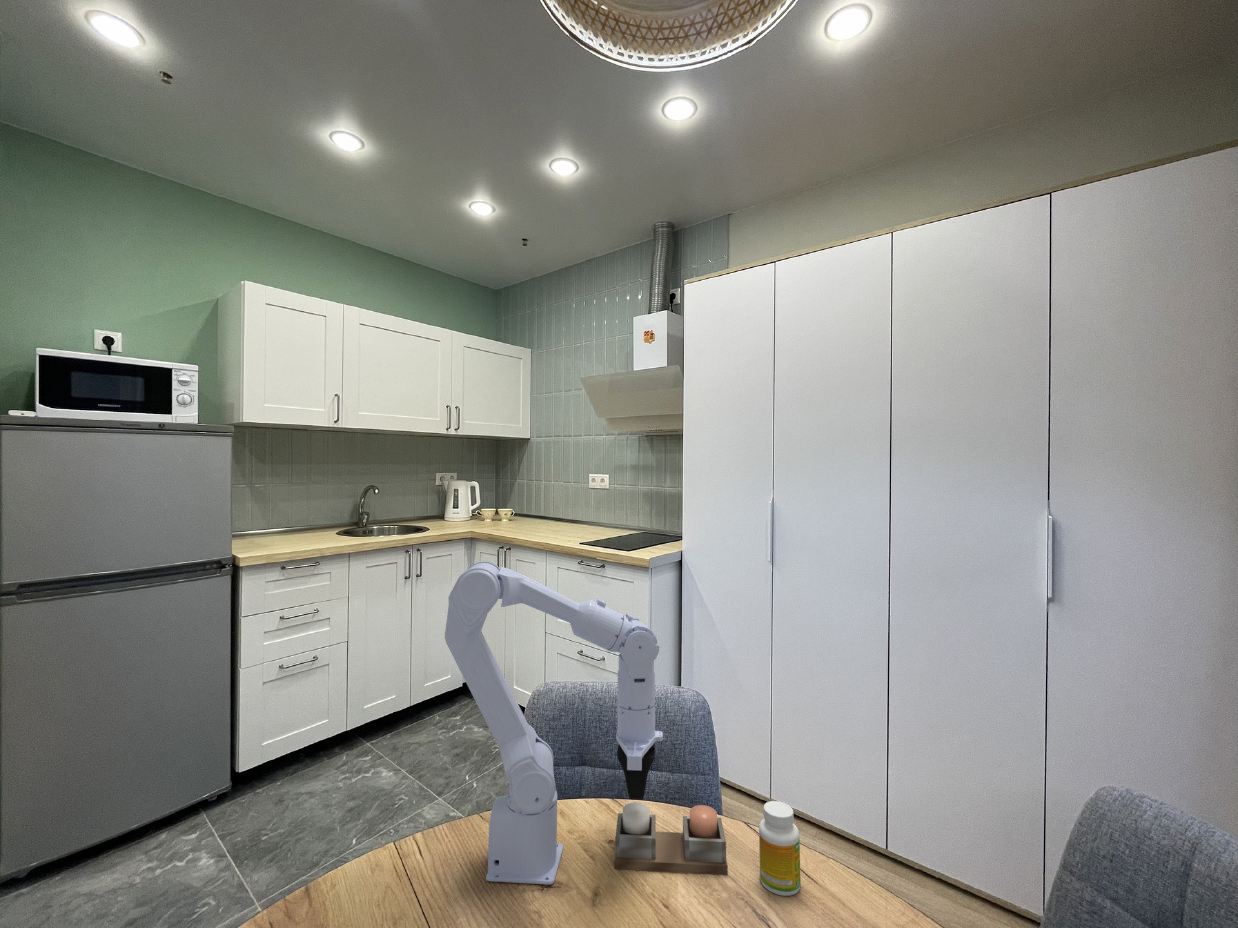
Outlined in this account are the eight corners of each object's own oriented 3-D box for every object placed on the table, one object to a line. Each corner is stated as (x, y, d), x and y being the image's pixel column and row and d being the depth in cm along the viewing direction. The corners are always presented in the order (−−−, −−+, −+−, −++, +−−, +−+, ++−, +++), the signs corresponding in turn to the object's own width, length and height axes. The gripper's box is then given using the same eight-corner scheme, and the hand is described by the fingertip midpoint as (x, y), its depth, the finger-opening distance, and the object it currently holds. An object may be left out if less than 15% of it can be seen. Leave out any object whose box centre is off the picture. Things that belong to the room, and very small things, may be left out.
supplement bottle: (803, 900, 68) (801, 822, 69) (761, 894, 69) (759, 817, 70) (797, 872, 73) (796, 800, 74) (758, 866, 74) (757, 795, 75)
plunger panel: (614, 869, 74) (614, 839, 74) (617, 837, 81) (617, 810, 81) (727, 874, 73) (727, 844, 73) (721, 842, 80) (721, 815, 80)
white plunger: (622, 834, 76) (622, 817, 76) (623, 818, 80) (623, 801, 80) (649, 835, 75) (649, 818, 76) (649, 819, 79) (649, 802, 80)
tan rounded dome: (690, 837, 75) (690, 820, 75) (689, 821, 79) (688, 804, 79) (718, 839, 75) (718, 821, 75) (715, 822, 79) (715, 805, 79)
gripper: (663, 723, 71) (663, 827, 70) (661, 687, 86) (662, 772, 85) (612, 722, 72) (612, 825, 71) (619, 686, 86) (619, 771, 85)
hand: (636, 796), depth 78 cm, fingers closed
